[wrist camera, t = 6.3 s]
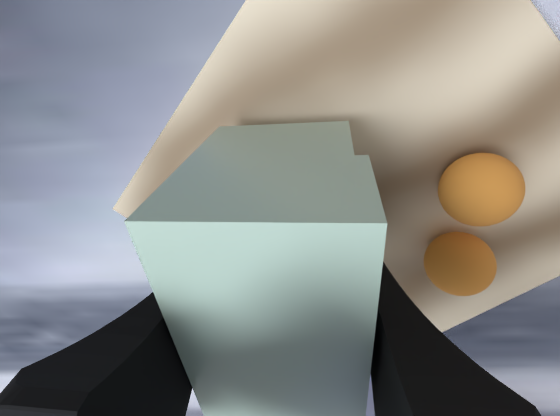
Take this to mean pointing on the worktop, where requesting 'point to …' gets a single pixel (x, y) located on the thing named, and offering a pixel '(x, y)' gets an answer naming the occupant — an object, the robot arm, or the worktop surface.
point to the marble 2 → (460, 264)
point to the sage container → (269, 268)
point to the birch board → (398, 118)
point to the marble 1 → (481, 189)
